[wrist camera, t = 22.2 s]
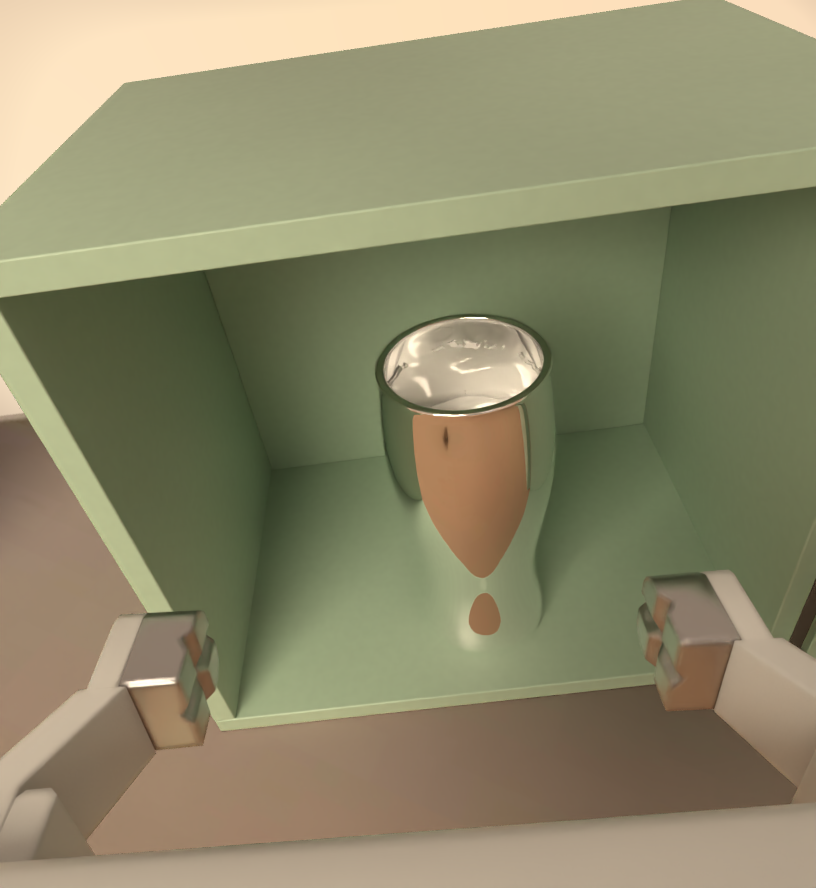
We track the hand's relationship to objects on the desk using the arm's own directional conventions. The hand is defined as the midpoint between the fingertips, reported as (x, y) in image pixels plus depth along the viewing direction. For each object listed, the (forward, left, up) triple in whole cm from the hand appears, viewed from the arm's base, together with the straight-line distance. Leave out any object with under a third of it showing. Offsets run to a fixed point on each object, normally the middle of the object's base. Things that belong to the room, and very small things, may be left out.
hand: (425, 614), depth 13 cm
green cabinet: (+2, +18, -20) cm, 27 cm away
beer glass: (+2, +14, -19) cm, 23 cm away
